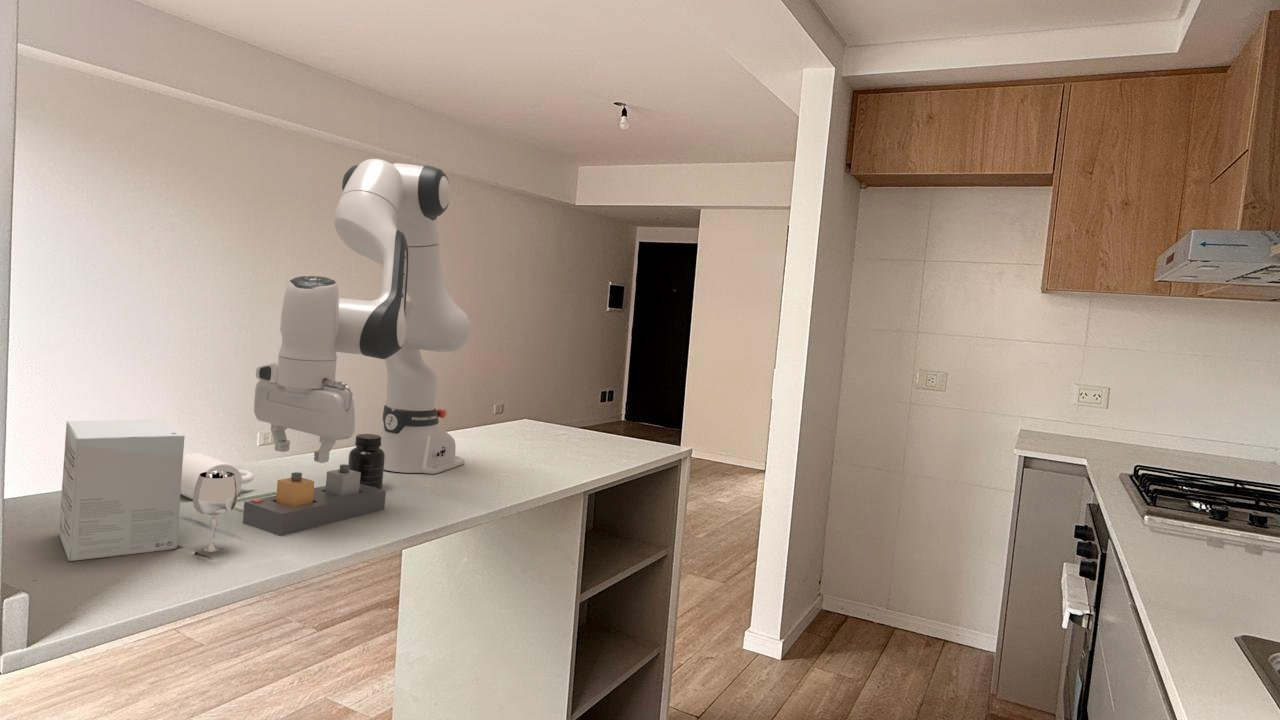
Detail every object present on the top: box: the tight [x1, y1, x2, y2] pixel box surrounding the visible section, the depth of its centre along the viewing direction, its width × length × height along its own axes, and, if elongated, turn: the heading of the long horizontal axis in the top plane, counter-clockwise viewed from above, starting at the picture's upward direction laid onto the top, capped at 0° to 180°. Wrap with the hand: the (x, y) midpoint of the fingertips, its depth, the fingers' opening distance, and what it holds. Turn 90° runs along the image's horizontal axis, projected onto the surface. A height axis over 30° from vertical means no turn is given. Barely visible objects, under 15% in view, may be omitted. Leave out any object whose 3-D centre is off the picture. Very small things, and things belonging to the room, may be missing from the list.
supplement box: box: [58, 418, 186, 562], centre depth 113 cm, size 13×13×18 cm
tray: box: [232, 490, 277, 513], centre depth 135 cm, size 11×9×2 cm
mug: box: [180, 452, 255, 501], centre depth 139 cm, size 12×10×8 cm
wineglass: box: [192, 471, 238, 559], centre depth 113 cm, size 6×6×12 cm
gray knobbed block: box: [325, 463, 361, 497], centre depth 136 cm, size 4×4×8 cm
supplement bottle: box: [347, 433, 385, 490], centre depth 152 cm, size 7×7×12 cm
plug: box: [275, 471, 315, 507], centre depth 127 cm, size 4×4×8 cm
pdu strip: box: [242, 484, 387, 537], centre depth 132 cm, size 22×9×5 cm, turn 154°
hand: (301, 456), depth 127 cm, fingers open, 8 cm apart
